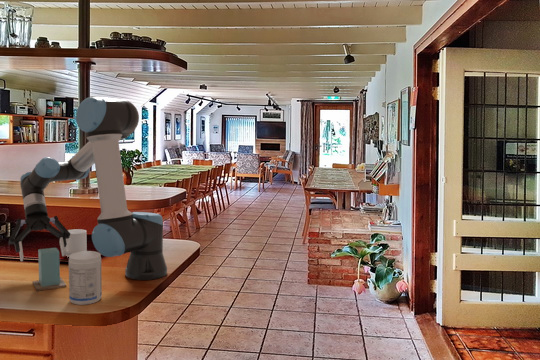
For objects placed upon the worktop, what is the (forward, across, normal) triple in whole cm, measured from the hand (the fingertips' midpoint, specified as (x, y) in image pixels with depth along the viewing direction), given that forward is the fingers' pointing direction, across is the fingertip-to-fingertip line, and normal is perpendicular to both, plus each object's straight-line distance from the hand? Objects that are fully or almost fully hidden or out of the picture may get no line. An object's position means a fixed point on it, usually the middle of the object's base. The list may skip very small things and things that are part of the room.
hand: (43, 256), depth 167 cm
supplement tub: (+27, -7, +17) cm, 32 cm away
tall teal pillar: (+12, 0, +3) cm, 12 cm away
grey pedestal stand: (+12, 0, +2) cm, 13 cm away
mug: (-10, -14, -20) cm, 26 cm away
